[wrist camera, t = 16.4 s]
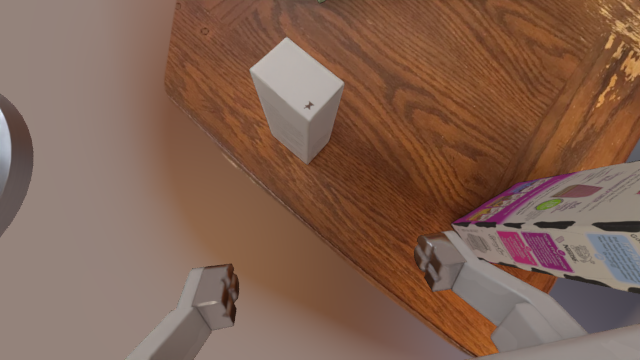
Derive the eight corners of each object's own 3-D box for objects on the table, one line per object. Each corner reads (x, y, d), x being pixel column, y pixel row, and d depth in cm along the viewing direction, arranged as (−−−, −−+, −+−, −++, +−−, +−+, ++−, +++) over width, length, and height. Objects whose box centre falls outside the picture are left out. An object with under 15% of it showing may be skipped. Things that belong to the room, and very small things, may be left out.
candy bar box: (471, 262, 27) (717, 317, 11) (448, 223, 28) (647, 223, 12) (542, 216, 29) (843, 206, 13) (518, 181, 29) (776, 129, 13)
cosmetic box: (330, 141, 29) (348, 83, 17) (307, 166, 28) (309, 123, 16) (293, 110, 29) (286, 33, 17) (269, 133, 28) (246, 69, 17)
